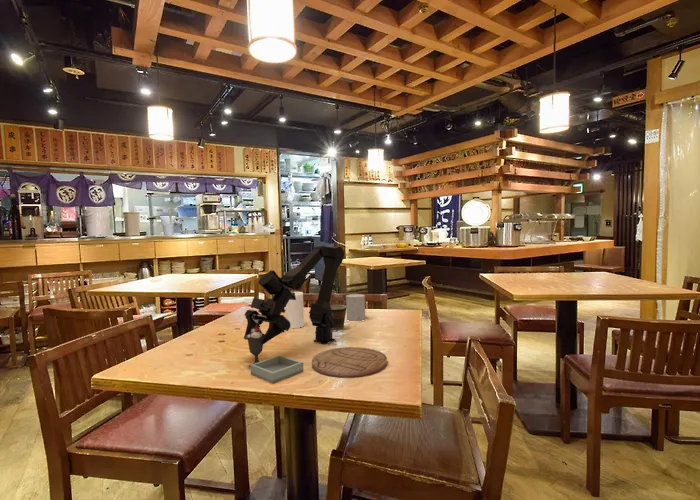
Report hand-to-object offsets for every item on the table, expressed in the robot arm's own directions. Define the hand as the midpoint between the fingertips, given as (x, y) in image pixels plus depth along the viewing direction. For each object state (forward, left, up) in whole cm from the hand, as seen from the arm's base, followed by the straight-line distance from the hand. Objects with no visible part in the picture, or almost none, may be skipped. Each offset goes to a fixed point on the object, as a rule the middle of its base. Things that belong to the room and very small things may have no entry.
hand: (253, 341), depth 120 cm
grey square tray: (-1, +11, -8) cm, 14 cm away
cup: (-43, -31, -9) cm, 54 cm away
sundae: (-1, 0, -9) cm, 9 cm away
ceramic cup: (-50, -12, -9) cm, 52 cm away
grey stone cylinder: (-70, -16, -9) cm, 72 cm away
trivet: (-21, +23, -9) cm, 33 cm away
